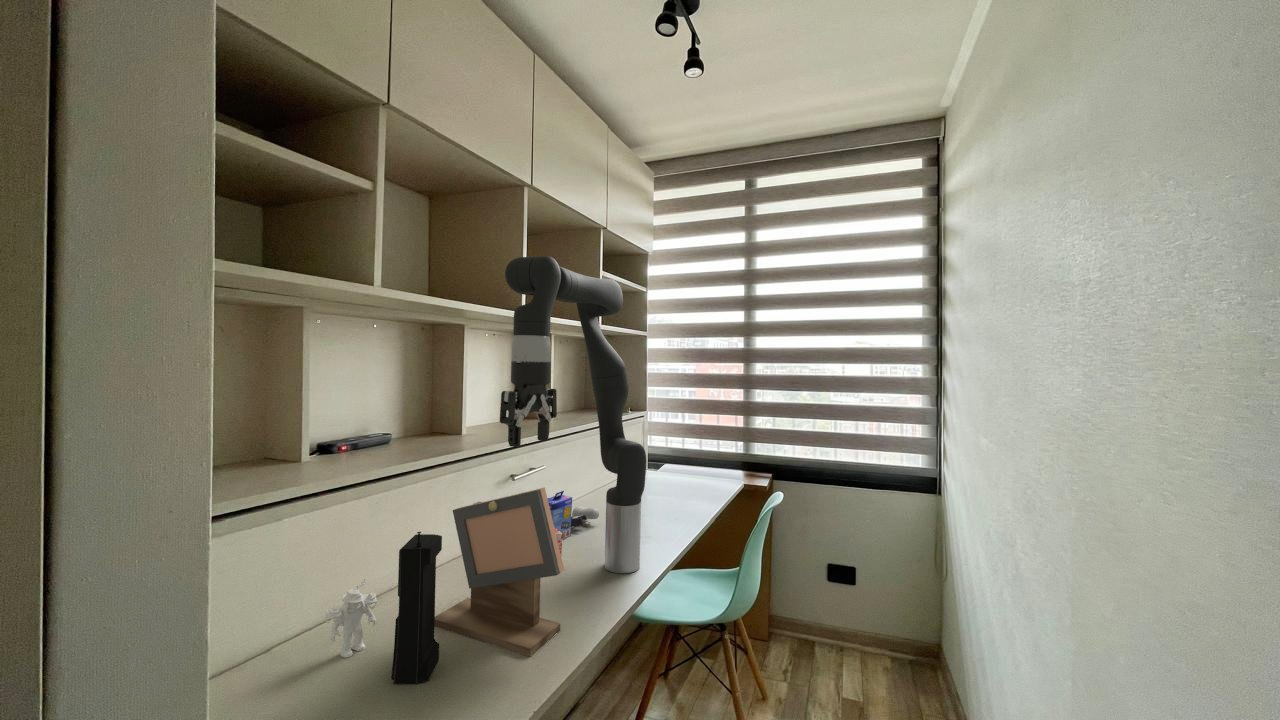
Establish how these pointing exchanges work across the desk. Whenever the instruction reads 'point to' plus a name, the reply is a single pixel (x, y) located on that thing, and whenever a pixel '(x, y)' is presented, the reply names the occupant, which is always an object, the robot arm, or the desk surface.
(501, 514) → the picture frame
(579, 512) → the clip-on lamp
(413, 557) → the portable radio
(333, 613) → the hat wearing toy figure
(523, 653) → the frame stand
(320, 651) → the desk surface
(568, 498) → the ink cartridge box
